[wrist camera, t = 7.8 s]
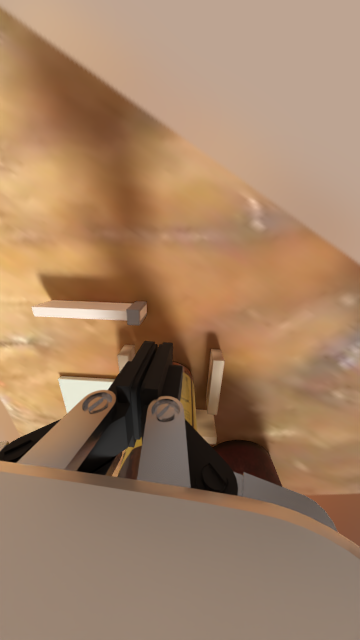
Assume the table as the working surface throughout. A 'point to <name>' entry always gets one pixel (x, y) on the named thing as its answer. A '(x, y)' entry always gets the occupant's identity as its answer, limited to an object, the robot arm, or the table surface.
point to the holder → (212, 395)
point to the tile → (80, 388)
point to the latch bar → (93, 310)
